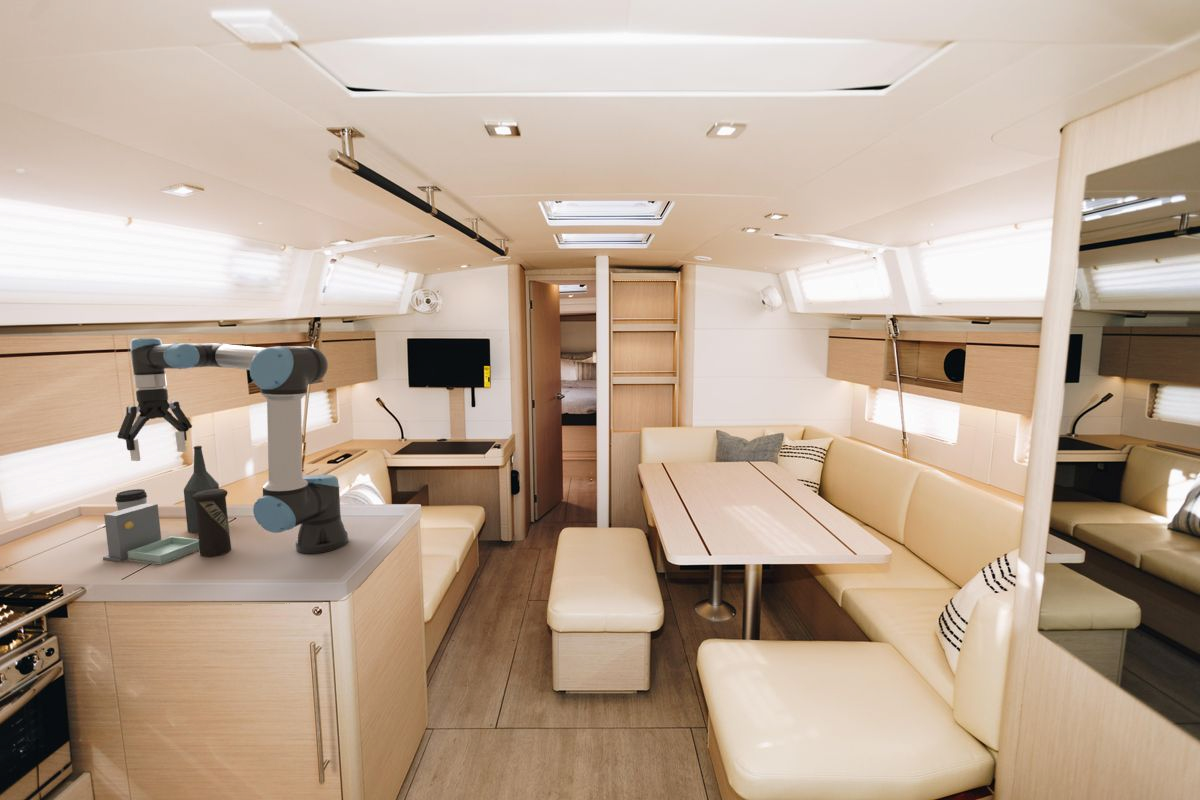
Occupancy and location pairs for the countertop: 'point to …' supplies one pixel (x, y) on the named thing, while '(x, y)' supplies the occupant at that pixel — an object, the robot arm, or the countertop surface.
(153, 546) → the tray
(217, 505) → the container
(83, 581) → the countertop surface
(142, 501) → the coffee cup
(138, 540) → the box
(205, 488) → the bottle
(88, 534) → the countertop surface
